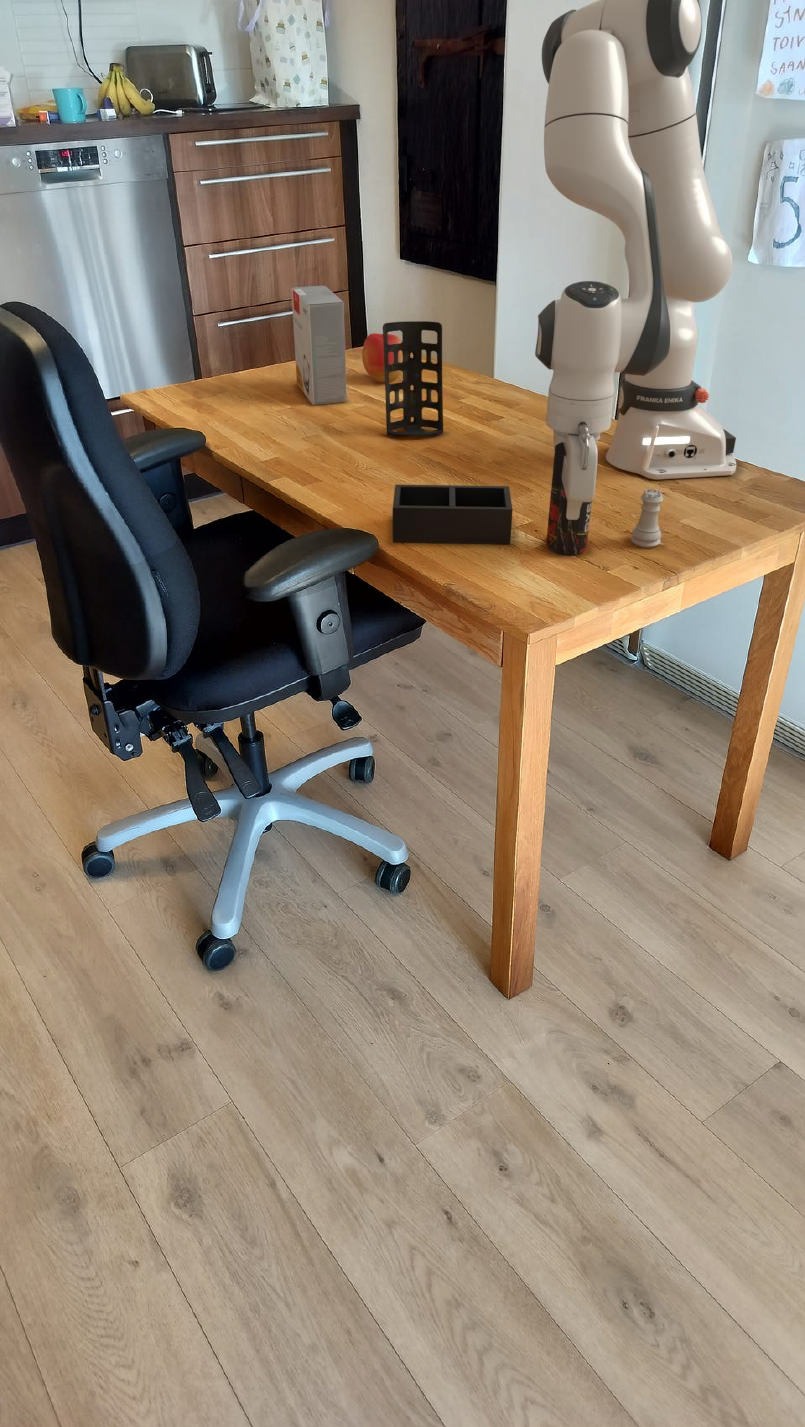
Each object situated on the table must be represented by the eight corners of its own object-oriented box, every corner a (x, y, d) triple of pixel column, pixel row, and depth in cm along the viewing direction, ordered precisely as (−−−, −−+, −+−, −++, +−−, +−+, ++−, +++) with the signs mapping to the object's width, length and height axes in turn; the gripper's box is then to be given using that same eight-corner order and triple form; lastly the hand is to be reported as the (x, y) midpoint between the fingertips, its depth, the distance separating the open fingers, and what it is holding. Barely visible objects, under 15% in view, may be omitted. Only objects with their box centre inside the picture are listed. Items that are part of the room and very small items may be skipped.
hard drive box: (295, 385, 215) (290, 286, 204) (330, 382, 217) (326, 284, 206) (312, 406, 203) (307, 302, 192) (348, 402, 205) (345, 300, 194)
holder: (390, 440, 185) (388, 326, 175) (380, 432, 191) (378, 321, 182) (447, 436, 187) (448, 323, 178) (435, 428, 194) (435, 318, 184)
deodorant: (585, 557, 144) (597, 457, 136) (544, 553, 145) (553, 453, 137) (587, 540, 149) (598, 442, 141) (547, 537, 150) (556, 439, 142)
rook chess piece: (656, 536, 150) (664, 485, 146) (663, 548, 147) (672, 497, 142) (627, 536, 150) (634, 486, 146) (633, 549, 147) (641, 497, 142)
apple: (375, 389, 213) (374, 341, 207) (355, 378, 220) (354, 331, 214) (414, 383, 217) (415, 335, 211) (393, 372, 224) (393, 326, 218)
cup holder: (395, 518, 156) (395, 484, 153) (506, 520, 155) (509, 486, 152) (392, 543, 148) (392, 507, 145) (510, 545, 148) (512, 509, 145)
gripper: (612, 438, 127) (600, 538, 135) (593, 391, 144) (583, 482, 152) (563, 437, 127) (553, 537, 135) (549, 390, 144) (541, 481, 152)
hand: (569, 507), depth 144 cm, fingers closed on deodorant, 6 cm apart
